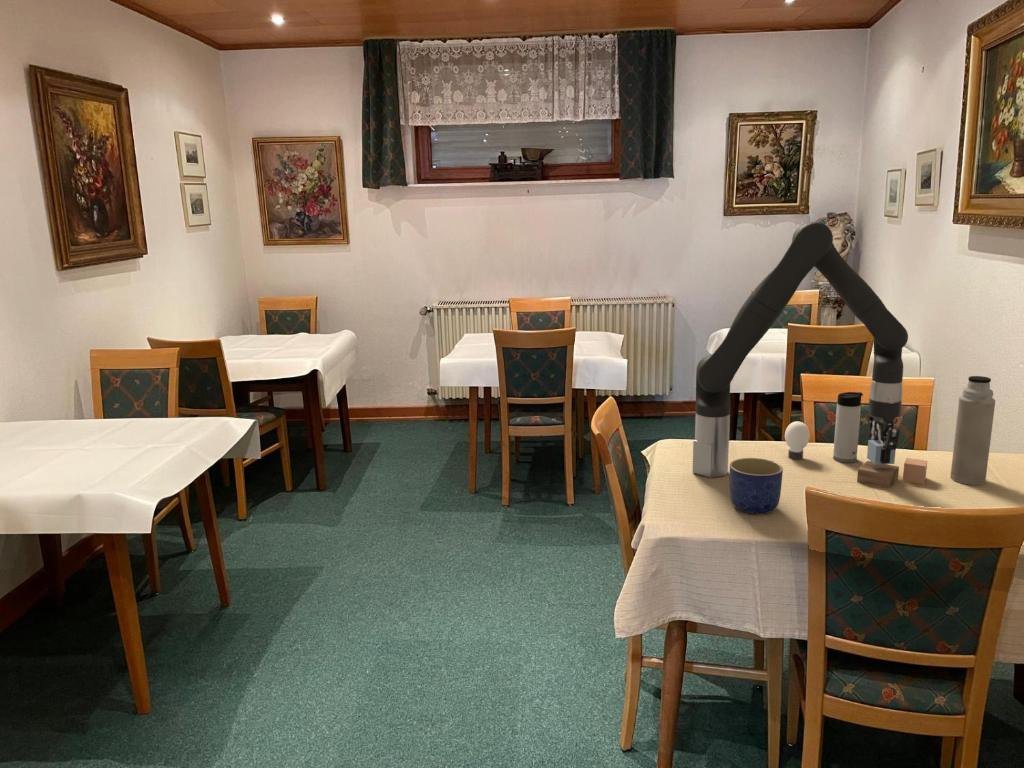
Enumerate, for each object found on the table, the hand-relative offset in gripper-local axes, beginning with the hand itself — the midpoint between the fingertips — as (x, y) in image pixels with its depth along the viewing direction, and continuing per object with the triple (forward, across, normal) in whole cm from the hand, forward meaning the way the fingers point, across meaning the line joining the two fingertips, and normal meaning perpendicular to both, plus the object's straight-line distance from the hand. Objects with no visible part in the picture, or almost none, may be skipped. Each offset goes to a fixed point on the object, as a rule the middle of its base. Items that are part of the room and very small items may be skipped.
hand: (880, 459), depth 195 cm
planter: (+6, +17, -37) cm, 41 cm away
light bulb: (+6, -20, -16) cm, 26 cm away
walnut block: (+7, 0, 0) cm, 7 cm away
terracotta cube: (+6, -1, +10) cm, 12 cm away
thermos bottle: (+7, -1, +23) cm, 24 cm away
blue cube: (0, 0, 0) cm, 0 cm away
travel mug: (+6, -18, -2) cm, 19 cm away
